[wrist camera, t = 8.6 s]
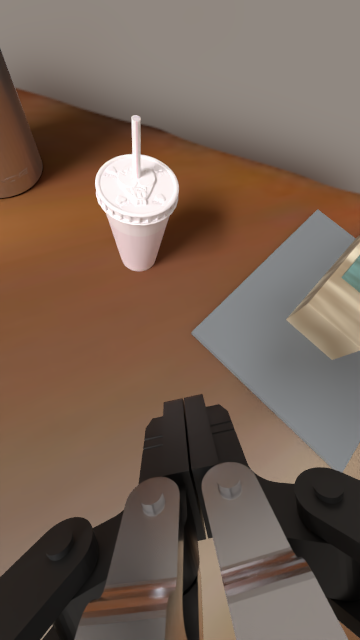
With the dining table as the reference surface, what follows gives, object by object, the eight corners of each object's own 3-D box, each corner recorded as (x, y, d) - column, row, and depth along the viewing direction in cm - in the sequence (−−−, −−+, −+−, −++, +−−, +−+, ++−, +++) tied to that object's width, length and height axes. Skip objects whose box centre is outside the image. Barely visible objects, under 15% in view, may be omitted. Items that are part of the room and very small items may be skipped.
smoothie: (162, 230, 31) (178, 91, 18) (173, 279, 29) (199, 161, 16) (105, 234, 30) (78, 89, 17) (112, 285, 28) (87, 164, 15)
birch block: (364, 349, 23) (431, 247, 29) (309, 302, 24) (385, 213, 30) (332, 360, 27) (396, 269, 33) (285, 319, 28) (356, 238, 34)
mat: (336, 472, 24) (341, 473, 24) (191, 333, 27) (192, 331, 27) (434, 305, 33) (439, 303, 32) (314, 212, 35) (317, 209, 35)
